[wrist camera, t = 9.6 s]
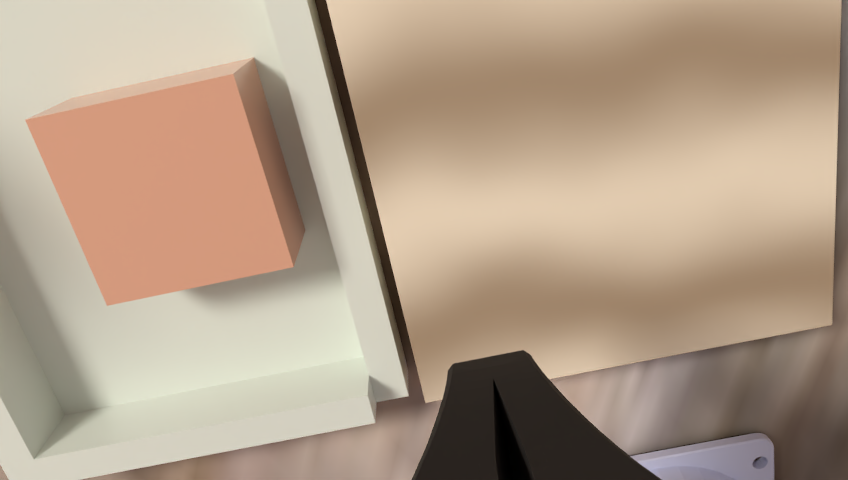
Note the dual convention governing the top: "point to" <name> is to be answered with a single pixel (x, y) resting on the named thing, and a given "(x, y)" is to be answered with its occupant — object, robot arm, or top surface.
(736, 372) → the top surface
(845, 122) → the top surface
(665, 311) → the board
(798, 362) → the top surface
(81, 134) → the block
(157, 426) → the tray
